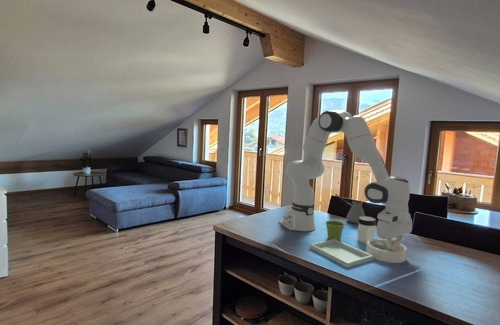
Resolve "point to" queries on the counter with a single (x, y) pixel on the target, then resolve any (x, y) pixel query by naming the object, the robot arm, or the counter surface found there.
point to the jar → (366, 229)
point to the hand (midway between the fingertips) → (393, 245)
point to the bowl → (386, 252)
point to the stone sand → (395, 244)
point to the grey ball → (379, 245)
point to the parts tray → (341, 253)
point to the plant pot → (334, 229)
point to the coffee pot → (354, 211)
